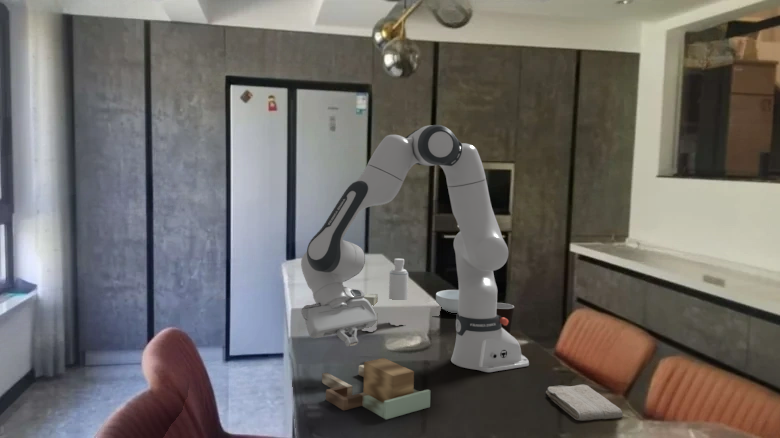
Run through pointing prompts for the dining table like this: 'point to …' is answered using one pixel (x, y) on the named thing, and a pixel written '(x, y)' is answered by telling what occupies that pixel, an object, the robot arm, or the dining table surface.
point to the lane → (350, 395)
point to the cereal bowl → (448, 300)
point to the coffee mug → (505, 314)
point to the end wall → (406, 404)
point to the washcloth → (583, 402)
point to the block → (387, 379)
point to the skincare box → (372, 298)
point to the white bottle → (398, 281)
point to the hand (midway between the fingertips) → (352, 344)
